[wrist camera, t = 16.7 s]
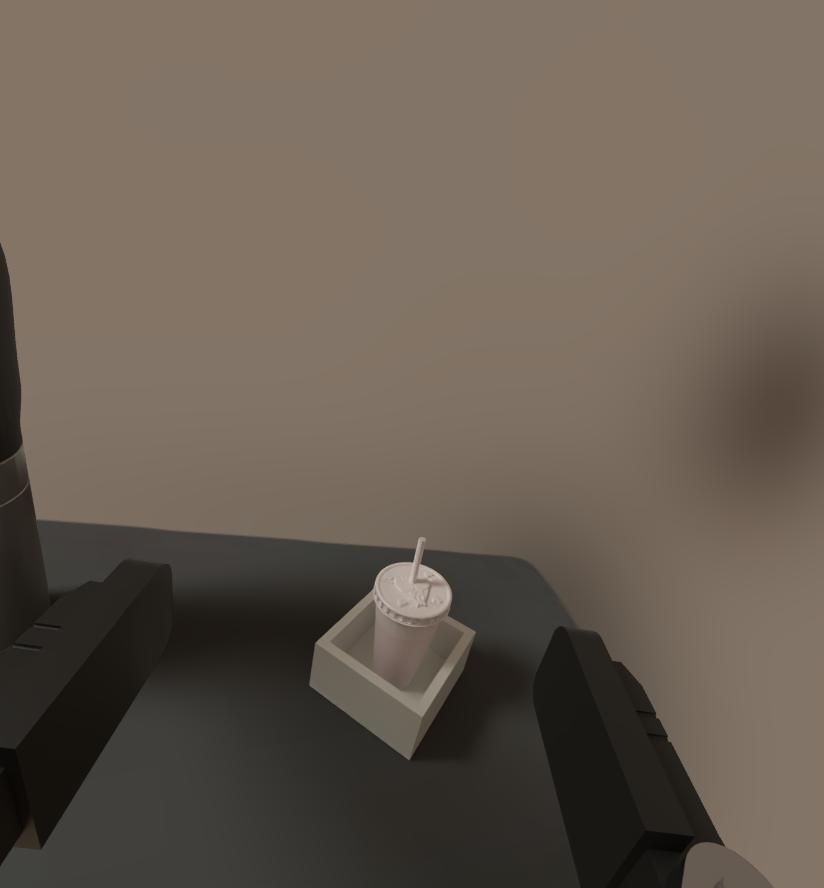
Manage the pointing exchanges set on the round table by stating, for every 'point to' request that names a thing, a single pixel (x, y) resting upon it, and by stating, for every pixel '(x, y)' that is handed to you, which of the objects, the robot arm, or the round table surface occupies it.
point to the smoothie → (407, 617)
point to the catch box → (374, 699)
